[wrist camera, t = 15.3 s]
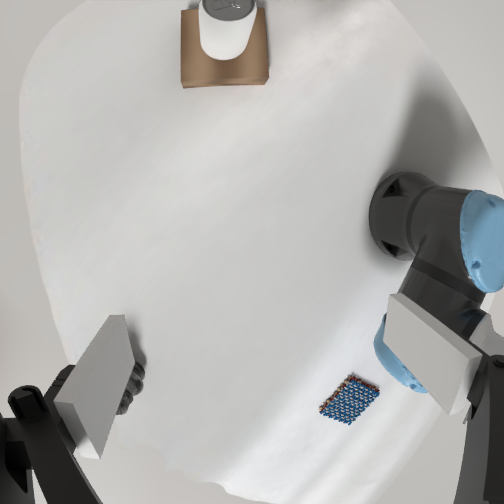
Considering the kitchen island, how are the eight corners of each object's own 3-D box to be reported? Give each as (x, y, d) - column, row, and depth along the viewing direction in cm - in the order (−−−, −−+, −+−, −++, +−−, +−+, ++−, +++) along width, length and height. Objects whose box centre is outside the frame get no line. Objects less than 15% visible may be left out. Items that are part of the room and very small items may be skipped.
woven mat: (379, 387, 60) (383, 392, 58) (348, 421, 62) (351, 426, 60) (349, 371, 58) (353, 377, 56) (315, 408, 59) (318, 414, 57)
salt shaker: (109, 367, 51) (91, 409, 39) (130, 353, 51) (114, 395, 39) (131, 388, 52) (118, 432, 41) (153, 375, 52) (142, 419, 41)
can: (251, 57, 38) (265, 20, 26) (205, 65, 37) (203, 29, 26) (241, 20, 36) (252, -23, 25) (196, 27, 36) (193, -15, 24)
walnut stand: (260, 19, 40) (264, 8, 36) (264, 84, 43) (269, 77, 39) (183, 21, 38) (181, 10, 35) (183, 88, 42) (180, 81, 38)
